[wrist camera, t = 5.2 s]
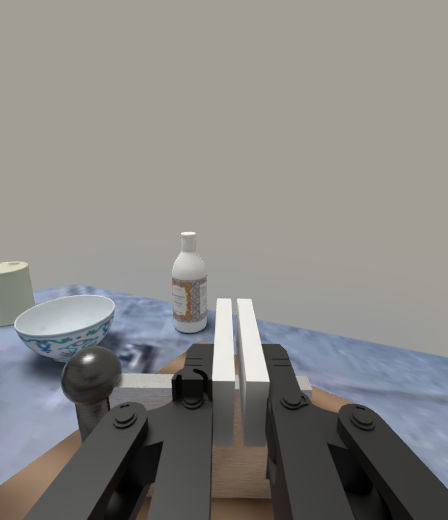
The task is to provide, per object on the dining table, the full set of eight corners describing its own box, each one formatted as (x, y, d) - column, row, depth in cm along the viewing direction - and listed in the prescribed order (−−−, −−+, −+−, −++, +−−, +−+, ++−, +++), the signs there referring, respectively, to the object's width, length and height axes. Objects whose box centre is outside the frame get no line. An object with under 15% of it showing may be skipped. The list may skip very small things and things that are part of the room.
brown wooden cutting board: (221, 1165, 9) (221, 1161, 8) (-47, 534, 24) (-52, 519, 23) (369, 419, 36) (371, 408, 35) (201, 347, 51) (201, 339, 50)
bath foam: (167, 326, 58) (162, 233, 52) (190, 315, 63) (188, 229, 58) (190, 338, 54) (188, 238, 48) (213, 324, 59) (213, 232, 54)
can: (46, 309, 65) (38, 260, 62) (12, 328, 56) (0, 273, 53) (13, 306, 66) (2, 258, 63) (-26, 324, 58) (-41, 270, 54)
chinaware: (116, 368, 45) (111, 326, 43) (7, 388, 40) (-4, 342, 38) (120, 325, 58) (116, 291, 56) (39, 336, 54) (32, 299, 52)
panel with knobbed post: (71, 513, 23) (43, 368, 19) (94, 462, 27) (75, 335, 23) (303, 516, 23) (322, 372, 19) (291, 465, 27) (305, 338, 24)
